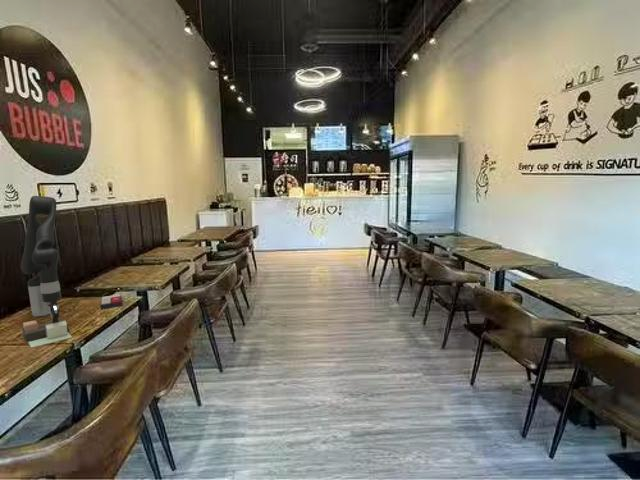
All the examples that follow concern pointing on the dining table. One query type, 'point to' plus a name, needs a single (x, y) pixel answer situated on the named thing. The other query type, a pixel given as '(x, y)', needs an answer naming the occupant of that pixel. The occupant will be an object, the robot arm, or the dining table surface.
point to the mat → (48, 340)
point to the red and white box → (111, 301)
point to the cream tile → (56, 329)
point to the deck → (38, 332)
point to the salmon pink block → (30, 326)
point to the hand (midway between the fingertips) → (56, 325)
